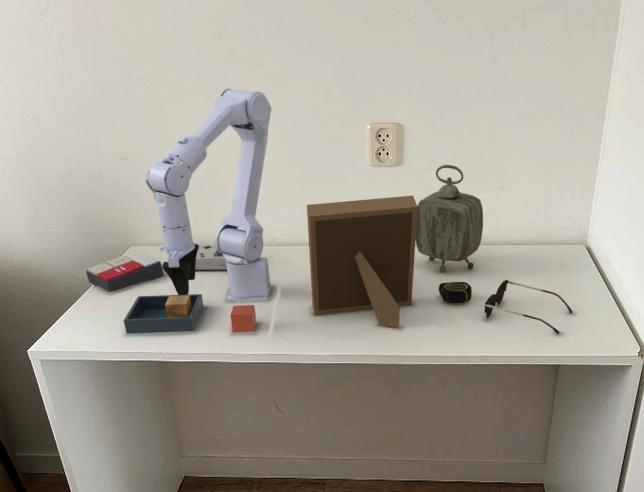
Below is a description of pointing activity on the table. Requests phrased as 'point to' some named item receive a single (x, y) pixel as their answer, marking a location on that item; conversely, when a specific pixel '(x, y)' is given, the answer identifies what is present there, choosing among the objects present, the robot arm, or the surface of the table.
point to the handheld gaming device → (210, 259)
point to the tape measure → (455, 292)
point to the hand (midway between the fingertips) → (186, 286)
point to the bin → (160, 315)
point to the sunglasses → (498, 299)
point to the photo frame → (363, 256)
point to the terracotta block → (243, 318)
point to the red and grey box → (124, 271)
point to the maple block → (178, 306)
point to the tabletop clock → (449, 223)
